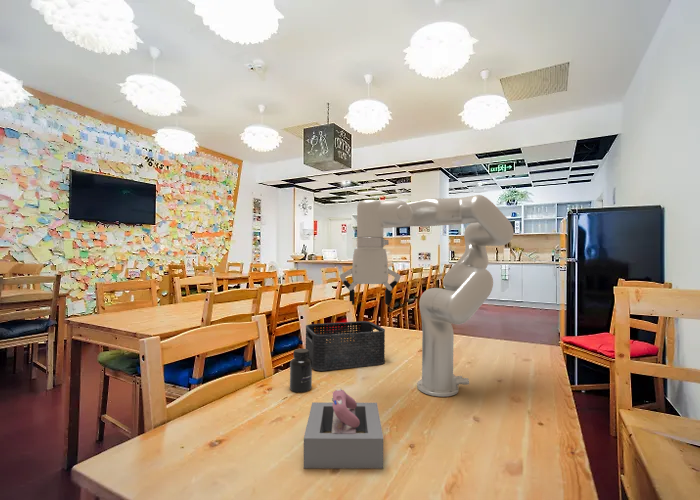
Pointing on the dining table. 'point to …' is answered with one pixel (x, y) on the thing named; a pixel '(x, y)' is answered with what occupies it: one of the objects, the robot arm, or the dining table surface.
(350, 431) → the beige insert in tray
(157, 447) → the dining table surface
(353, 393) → the dining table surface
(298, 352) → the supplement bottle
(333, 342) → the storage bin
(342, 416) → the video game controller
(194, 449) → the dining table surface
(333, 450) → the grey square box
